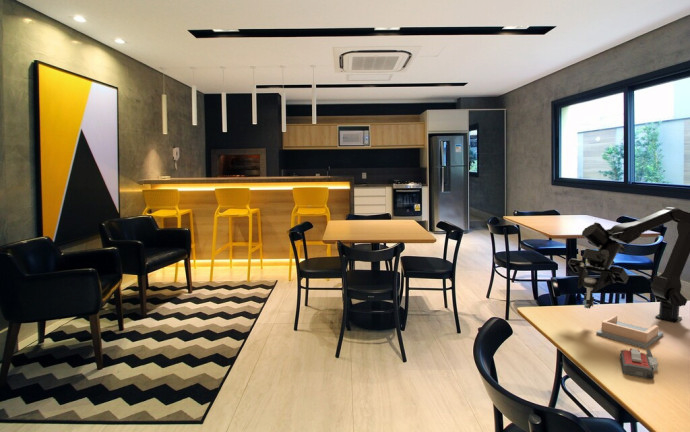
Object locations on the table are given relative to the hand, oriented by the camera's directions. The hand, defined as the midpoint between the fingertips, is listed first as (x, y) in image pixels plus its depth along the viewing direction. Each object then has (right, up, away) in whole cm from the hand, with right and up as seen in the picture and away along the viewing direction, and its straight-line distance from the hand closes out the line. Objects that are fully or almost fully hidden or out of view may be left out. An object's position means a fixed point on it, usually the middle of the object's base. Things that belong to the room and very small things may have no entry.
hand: (586, 289), depth 147 cm
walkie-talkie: (-1, -17, -27) cm, 32 cm away
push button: (+1, -7, +1) cm, 7 cm away
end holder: (+11, -14, -7) cm, 19 cm away
